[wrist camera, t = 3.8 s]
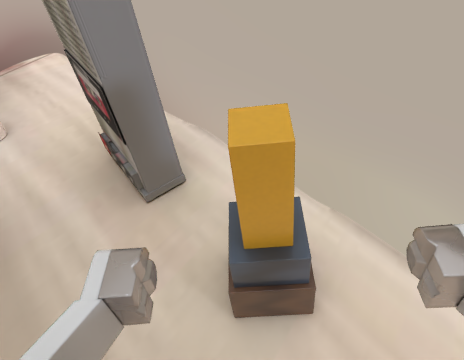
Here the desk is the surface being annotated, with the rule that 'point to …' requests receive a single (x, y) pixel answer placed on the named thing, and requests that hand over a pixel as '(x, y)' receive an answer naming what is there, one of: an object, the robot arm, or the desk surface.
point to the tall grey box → (119, 88)
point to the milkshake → (2, 132)
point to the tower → (270, 272)
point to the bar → (263, 173)
